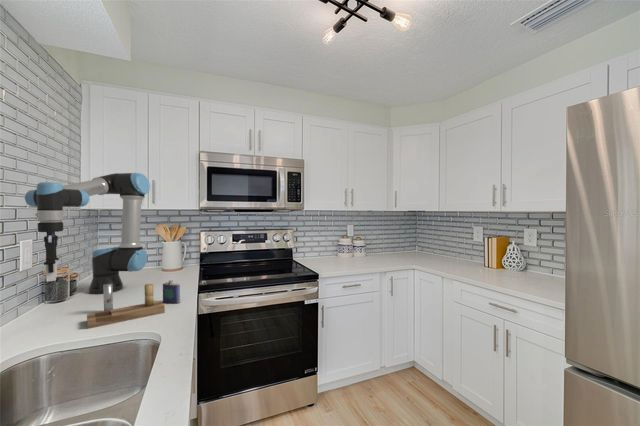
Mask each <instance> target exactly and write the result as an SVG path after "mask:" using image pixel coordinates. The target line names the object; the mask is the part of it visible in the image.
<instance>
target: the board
mask: <svg viewBox="0 0 640 426" xmlns="http://www.w3.org/2000/svg"><path fill="white" fill-rule="evenodd" d="M165 308H166V307H165V303H163V301H161V300H156V301H155V300H154V284H153V283H145V284H144V303H139V304H135V305H130V306H129V305H128V306H124V307H118V308H113V309H112V310H107V311H104V310H102V311H97V312H93V313H87V314H86V324H87V329H93V328H98V327H103V326H107V325H111V324H112V325H113V324H116V323H122V322H126V321H131V320H136V319H141V318H144V317H150V316H155V315H160V314H164V313H165Z"/></svg>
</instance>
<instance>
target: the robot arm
mask: <svg viewBox="0 0 640 426" xmlns="http://www.w3.org/2000/svg"><path fill="white" fill-rule="evenodd" d="M150 189H151V187H150V181H149V179H148V178H147V176H146V175H144V174H143V173H140V172H122V173H121V172H120V173H119V172H118V173H117V172H115V173H110V174H105V175H102V176H96V177H93V178H92V179H90V180H86V181H81V182H75V183H71V184H64V185H63V184H62V183H61V182H51V181H50V182H47V181H46V182H43V181H42V182H38V183H37V184H36V189H31V190H28V191H27V192H26V193H25V194H24V200H25V203H26V204H27V205H28V206H29V207H33V208H37V213H35V215H34V216H35V217H37V221H38V223H37V232H38V233H46V236H44V237H43V241H44V248H45V262H43V265H44V266H45V273H46V278H45V279H46V283H47V282H53V281H57V277H58V261H59V260H60V257H58V255H57V246H58V240H59V236H58V235H56V233H57V232H63V231H64V222H63V221H64V208H69V207H70V208H74V207H75V208H81V207H86V205H88V204H89V202H90V197H91V196H92V197H93V196H95V195H98V196H104V195H119V197H120V199H121V200H122V217H121V219H122V220H121V243H120V245H117V246H114V247H107V248H100V249H95V250H94V251H93V252H92V257H91V259H92V261H91V262H92V265H91V266H92V279H91V282H90V285H89V288H88V293H89V294H92V295H100V294H101V295H102V294H103V295H104V290H103V285H104V284H112V286H113V292H117V291H120V290H122V289H124V283H123V281H122V279H121V277H120V276H121V275H120V272H130V273H131V272H139V271H141V270H143V268H144V267H145V266H146V264H147V262H148V257H149V255H148V253H147V251H146V250H145V249H144V246H143V245H142V244H141V224H142V223H141V218H142V216H141V215H142V200H143V201H144V199H145V195H147V194H148V193H149V191H150Z"/></svg>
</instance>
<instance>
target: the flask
mask: <svg viewBox="0 0 640 426" xmlns="http://www.w3.org/2000/svg"><path fill="white" fill-rule="evenodd" d="M173 282H174V280H168V281H167V282H164V283H162V303H163V304H174V305H175V304H178V305H179V304H180V303H181V291H180V290H181V284H180V283H173Z"/></svg>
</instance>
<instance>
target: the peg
mask: <svg viewBox="0 0 640 426" xmlns="http://www.w3.org/2000/svg"><path fill="white" fill-rule="evenodd" d="M103 290H104V293H103V311H107V310H112V309H114V300H113V299H114V296H113V286H112V284H104V285H103Z"/></svg>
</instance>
